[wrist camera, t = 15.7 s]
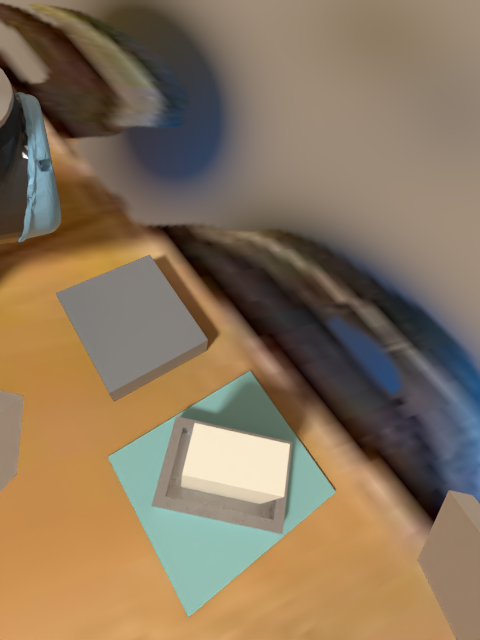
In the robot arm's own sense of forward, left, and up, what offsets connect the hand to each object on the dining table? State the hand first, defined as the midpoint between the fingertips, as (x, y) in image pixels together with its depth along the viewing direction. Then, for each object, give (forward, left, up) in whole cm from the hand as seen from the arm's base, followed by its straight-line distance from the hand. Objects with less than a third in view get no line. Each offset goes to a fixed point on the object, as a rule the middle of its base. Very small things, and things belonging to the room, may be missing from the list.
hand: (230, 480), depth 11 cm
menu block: (+4, +1, -29) cm, 29 cm away
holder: (+4, +1, -30) cm, 30 cm away
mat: (+4, +1, -30) cm, 30 cm away
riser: (+4, +21, -30) cm, 37 cm away
